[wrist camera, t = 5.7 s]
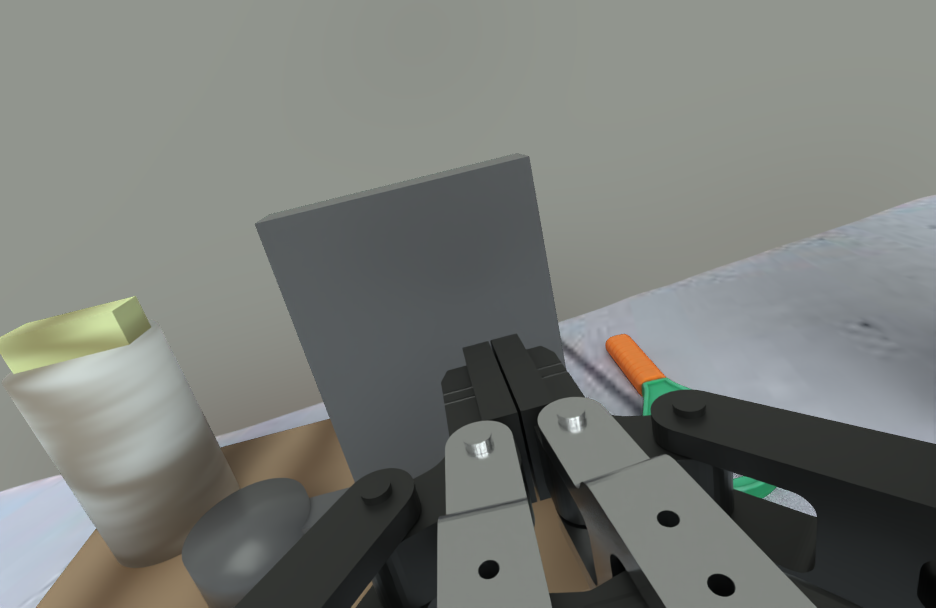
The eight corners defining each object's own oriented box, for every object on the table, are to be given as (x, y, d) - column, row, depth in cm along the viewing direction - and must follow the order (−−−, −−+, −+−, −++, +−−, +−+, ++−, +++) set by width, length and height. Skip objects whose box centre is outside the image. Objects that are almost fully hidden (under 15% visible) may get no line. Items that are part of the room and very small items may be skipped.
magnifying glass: (817, 493, 21) (818, 462, 21) (681, 527, 21) (678, 497, 21) (660, 345, 36) (658, 324, 35) (578, 365, 36) (575, 344, 35)
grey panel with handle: (562, 443, 24) (508, 151, 19) (601, 519, 19) (542, 159, 14) (229, 533, 23) (82, 255, 18) (186, 634, 19) (-26, 299, 14)
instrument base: (514, 397, 33) (470, 195, 28) (608, 624, 18) (547, 274, 13) (156, 492, 32) (45, 300, 27) (-62, 816, 17) (-396, 515, 12)
